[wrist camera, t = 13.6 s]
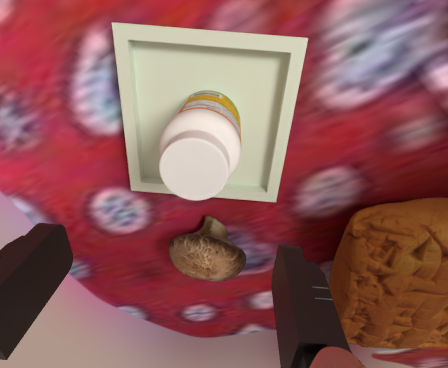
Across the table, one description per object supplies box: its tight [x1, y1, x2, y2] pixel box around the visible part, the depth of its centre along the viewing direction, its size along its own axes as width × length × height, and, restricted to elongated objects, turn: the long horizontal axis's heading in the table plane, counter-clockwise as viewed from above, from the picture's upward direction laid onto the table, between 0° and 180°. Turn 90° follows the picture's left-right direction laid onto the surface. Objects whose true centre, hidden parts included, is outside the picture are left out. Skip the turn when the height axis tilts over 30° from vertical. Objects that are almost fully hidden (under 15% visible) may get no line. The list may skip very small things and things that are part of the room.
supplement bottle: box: [159, 90, 241, 200], centre depth 20 cm, size 5×5×10 cm
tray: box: [112, 23, 308, 202], centre depth 24 cm, size 14×14×2 cm
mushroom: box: [169, 215, 246, 282], centre depth 29 cm, size 8×8×6 cm
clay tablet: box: [329, 198, 448, 349], centre depth 27 cm, size 22×17×8 cm
